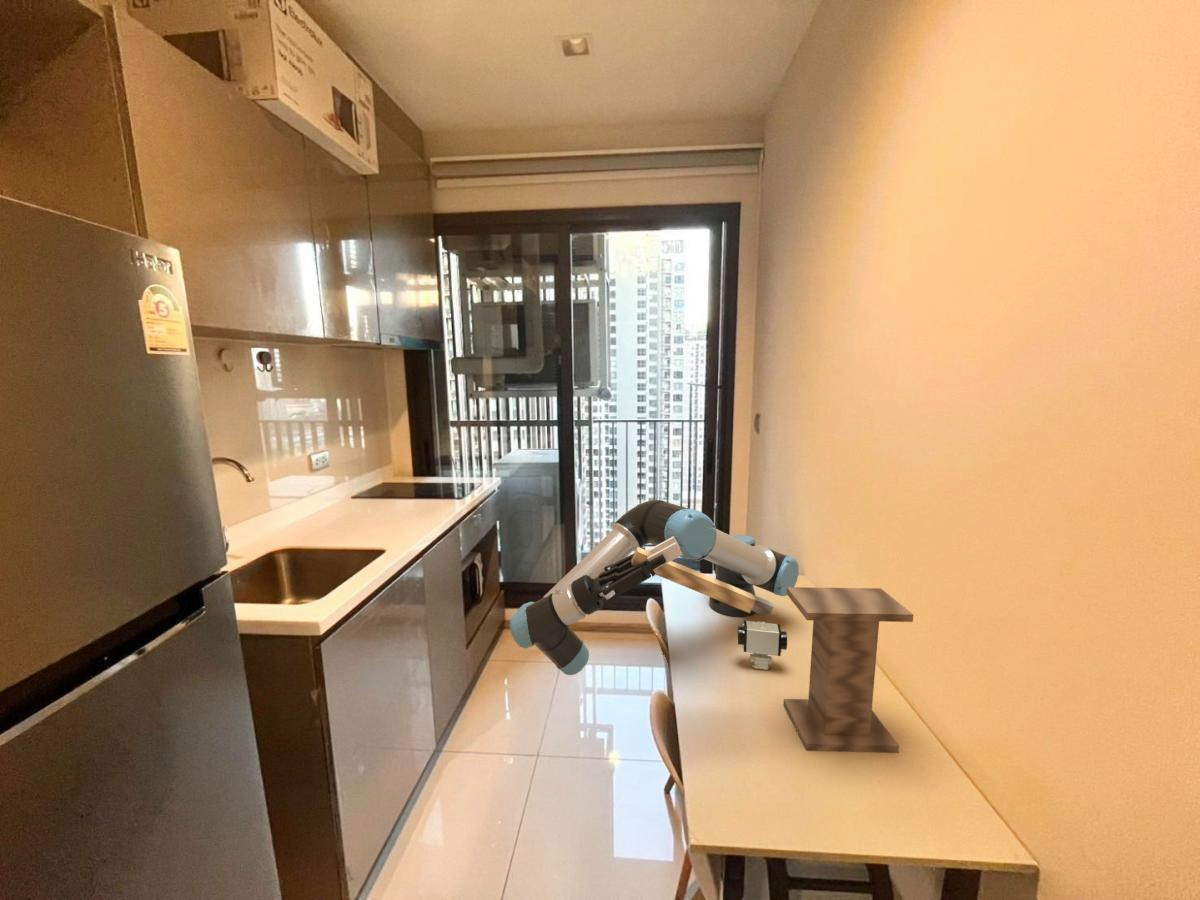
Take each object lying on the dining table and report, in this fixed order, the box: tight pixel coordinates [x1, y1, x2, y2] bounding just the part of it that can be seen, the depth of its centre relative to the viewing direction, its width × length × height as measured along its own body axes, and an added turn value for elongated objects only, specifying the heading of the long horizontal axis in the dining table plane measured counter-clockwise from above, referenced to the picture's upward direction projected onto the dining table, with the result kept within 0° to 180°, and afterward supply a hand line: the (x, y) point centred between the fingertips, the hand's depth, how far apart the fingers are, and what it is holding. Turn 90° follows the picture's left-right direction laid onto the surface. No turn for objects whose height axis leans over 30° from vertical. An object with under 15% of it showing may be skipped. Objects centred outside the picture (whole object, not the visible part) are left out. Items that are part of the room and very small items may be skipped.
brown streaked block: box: [631, 547, 774, 618], centre depth 103 cm, size 30×3×3 cm, turn 88°
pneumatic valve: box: [737, 620, 788, 671], centre depth 128 cm, size 6×12×12 cm, turn 77°
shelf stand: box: [782, 586, 914, 754], centre depth 104 cm, size 20×14×28 cm
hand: (677, 545), depth 102 cm, fingers closed on brown streaked block, 3 cm apart
